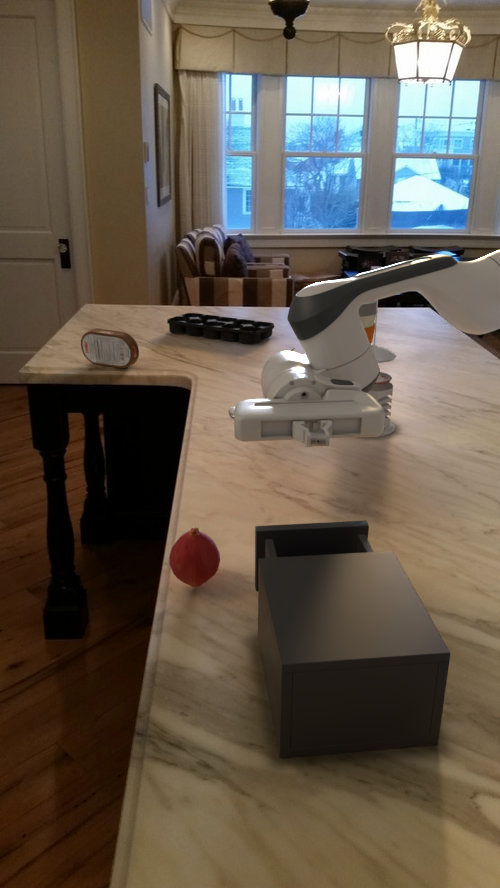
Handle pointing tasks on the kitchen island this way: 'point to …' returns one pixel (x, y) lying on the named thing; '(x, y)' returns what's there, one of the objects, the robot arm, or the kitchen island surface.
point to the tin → (109, 348)
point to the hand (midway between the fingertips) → (318, 441)
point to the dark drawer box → (348, 654)
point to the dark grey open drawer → (310, 540)
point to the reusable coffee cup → (368, 318)
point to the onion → (194, 558)
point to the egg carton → (221, 327)
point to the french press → (383, 383)
